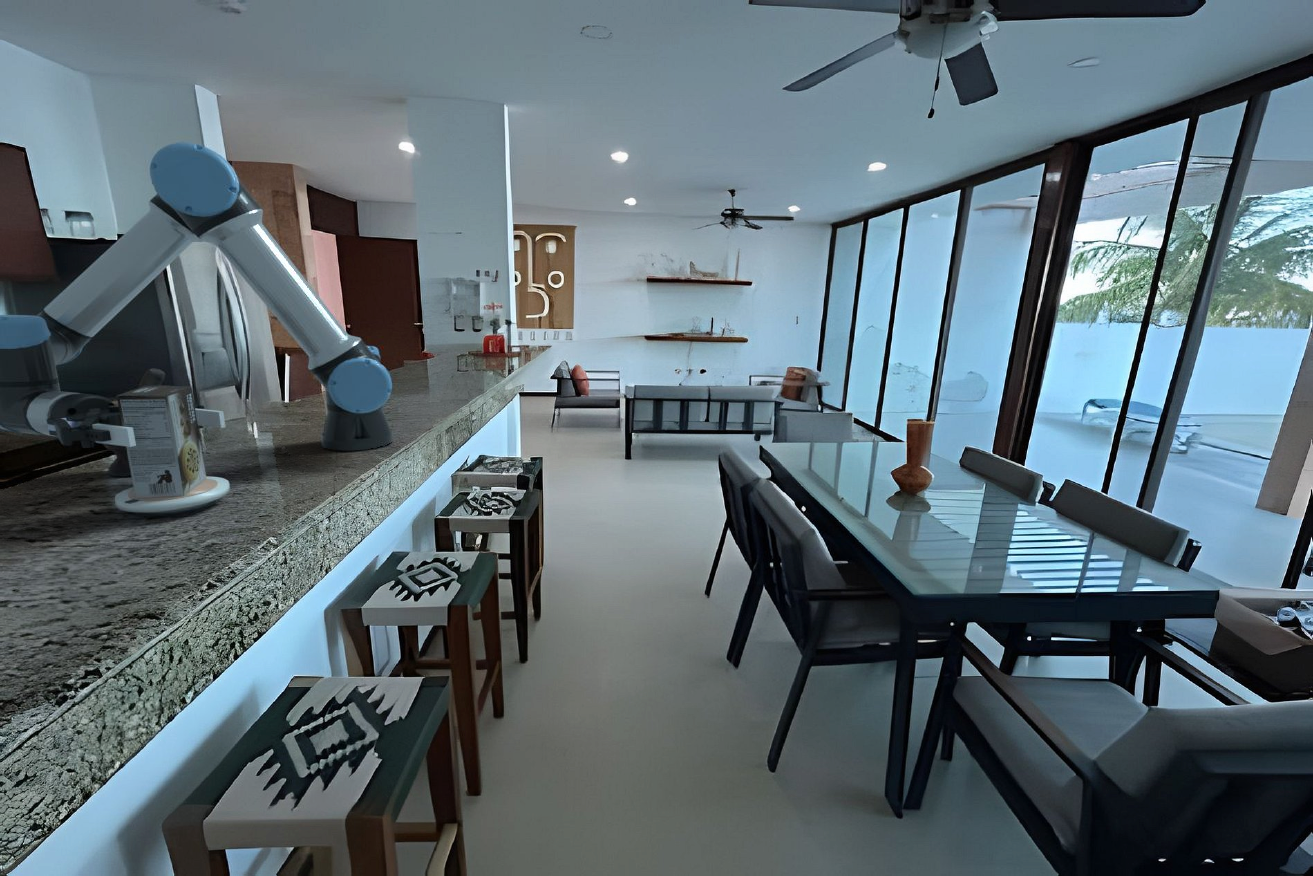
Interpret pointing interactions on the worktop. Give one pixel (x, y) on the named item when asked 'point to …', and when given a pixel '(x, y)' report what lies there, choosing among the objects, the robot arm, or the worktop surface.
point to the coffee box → (162, 440)
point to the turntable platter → (197, 496)
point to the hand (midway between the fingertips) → (180, 427)
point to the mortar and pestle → (121, 462)
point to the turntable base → (176, 511)
